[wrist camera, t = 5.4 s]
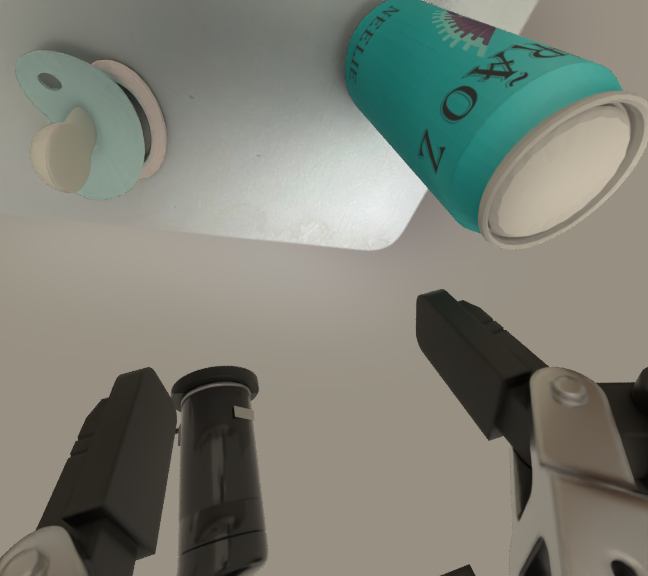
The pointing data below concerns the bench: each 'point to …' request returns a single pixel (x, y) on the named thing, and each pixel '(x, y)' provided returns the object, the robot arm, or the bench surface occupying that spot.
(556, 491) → the robot arm
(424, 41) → the beverage can
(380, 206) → the bench surface
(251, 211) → the bench surface
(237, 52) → the bench surface
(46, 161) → the pacifier
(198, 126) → the bench surface
